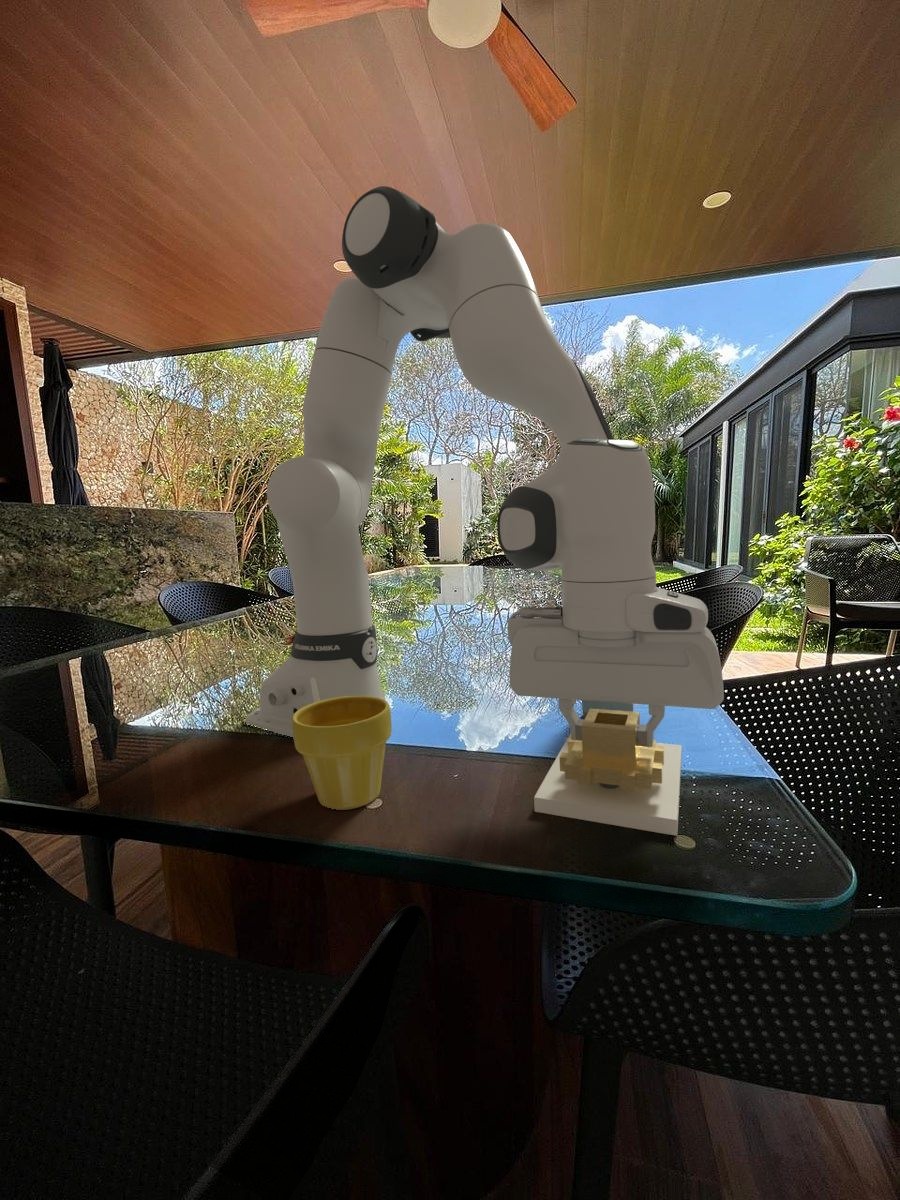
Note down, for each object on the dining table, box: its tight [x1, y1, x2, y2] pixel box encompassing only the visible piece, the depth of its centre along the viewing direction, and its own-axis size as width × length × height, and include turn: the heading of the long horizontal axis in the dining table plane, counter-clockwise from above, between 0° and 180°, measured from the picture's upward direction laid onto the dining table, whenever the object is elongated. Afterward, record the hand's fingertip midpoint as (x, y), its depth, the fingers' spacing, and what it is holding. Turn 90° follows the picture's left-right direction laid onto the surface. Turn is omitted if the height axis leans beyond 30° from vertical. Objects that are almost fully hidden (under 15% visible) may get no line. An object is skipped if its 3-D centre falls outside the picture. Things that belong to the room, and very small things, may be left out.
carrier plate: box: [533, 733, 683, 837], centre depth 58 cm, size 13×17×5 cm
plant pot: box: [292, 696, 392, 811], centre depth 58 cm, size 10×10×10 cm
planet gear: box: [559, 709, 664, 792], centre depth 54 cm, size 10×10×5 cm
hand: (611, 741), depth 54 cm, fingers closed on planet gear, 5 cm apart
